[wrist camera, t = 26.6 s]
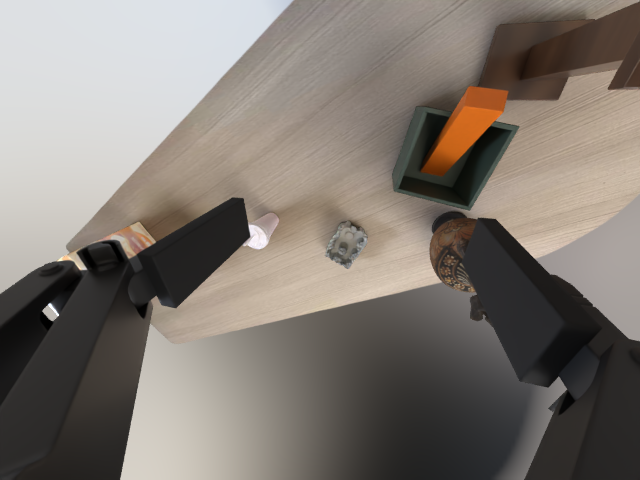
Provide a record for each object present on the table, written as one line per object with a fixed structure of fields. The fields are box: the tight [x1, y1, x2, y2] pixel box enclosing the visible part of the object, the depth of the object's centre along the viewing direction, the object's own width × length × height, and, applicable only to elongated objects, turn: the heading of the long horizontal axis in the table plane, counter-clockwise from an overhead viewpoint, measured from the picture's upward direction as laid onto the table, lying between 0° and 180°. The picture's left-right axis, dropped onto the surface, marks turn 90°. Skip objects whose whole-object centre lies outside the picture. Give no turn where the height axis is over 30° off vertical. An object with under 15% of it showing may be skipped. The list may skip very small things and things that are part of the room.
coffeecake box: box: [57, 222, 156, 270], centre depth 67 cm, size 15×7×20 cm, turn 26°
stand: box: [478, 2, 640, 100], centre depth 22 cm, size 11×9×28 cm
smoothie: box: [243, 213, 279, 249], centre depth 53 cm, size 6×6×14 cm
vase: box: [430, 212, 493, 327], centre depth 36 cm, size 12×12×30 cm
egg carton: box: [325, 221, 367, 269], centre depth 55 cm, size 11×8×4 cm
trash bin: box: [392, 107, 519, 211], centre depth 38 cm, size 12×12×11 cm
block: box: [420, 86, 508, 176], centre depth 34 cm, size 18×4×2 cm
